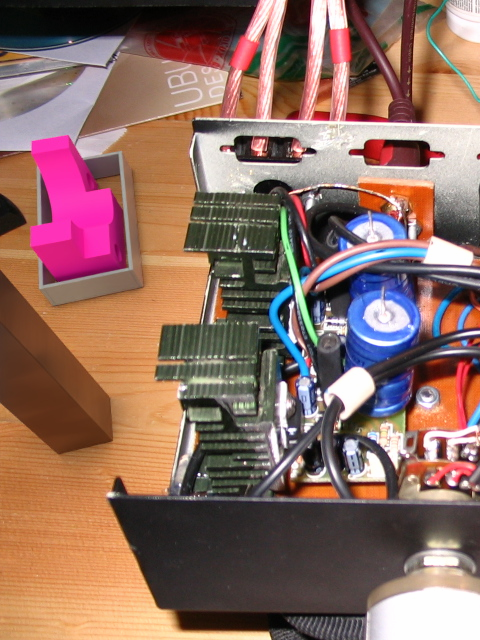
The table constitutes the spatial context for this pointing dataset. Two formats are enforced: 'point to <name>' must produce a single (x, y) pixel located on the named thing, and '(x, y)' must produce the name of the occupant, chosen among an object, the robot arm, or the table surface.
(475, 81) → the table surface
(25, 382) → the brown wooden bar
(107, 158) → the grey hollow rectangular frame
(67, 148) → the toy block
